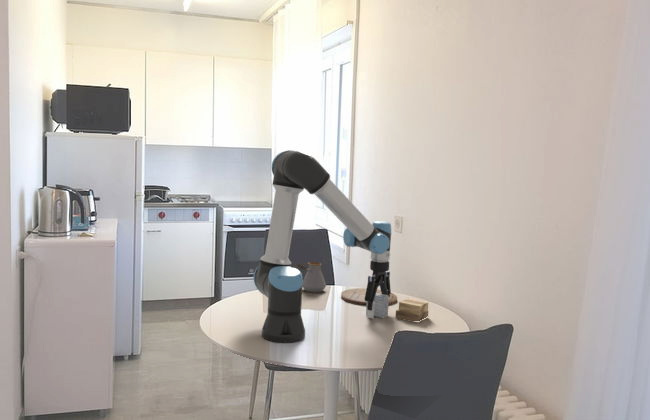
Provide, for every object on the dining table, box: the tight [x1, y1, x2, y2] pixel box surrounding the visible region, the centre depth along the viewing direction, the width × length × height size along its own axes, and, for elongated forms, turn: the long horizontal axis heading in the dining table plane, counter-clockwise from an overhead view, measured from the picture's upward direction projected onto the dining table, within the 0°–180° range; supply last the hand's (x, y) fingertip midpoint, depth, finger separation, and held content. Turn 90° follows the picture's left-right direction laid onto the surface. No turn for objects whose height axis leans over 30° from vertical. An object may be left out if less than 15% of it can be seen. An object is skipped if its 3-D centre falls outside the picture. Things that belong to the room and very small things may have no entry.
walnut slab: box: [395, 308, 429, 322], centre depth 228 cm, size 9×10×4 cm
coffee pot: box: [295, 261, 327, 294], centre depth 260 cm, size 21×12×15 cm, turn 148°
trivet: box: [340, 287, 398, 307], centre depth 255 cm, size 25×25×2 cm
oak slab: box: [398, 297, 429, 315], centre depth 227 cm, size 8×9×4 cm
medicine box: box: [365, 293, 389, 319], centre depth 228 cm, size 8×4×9 cm, turn 58°
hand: (376, 314), depth 229 cm, fingers open, 10 cm apart
